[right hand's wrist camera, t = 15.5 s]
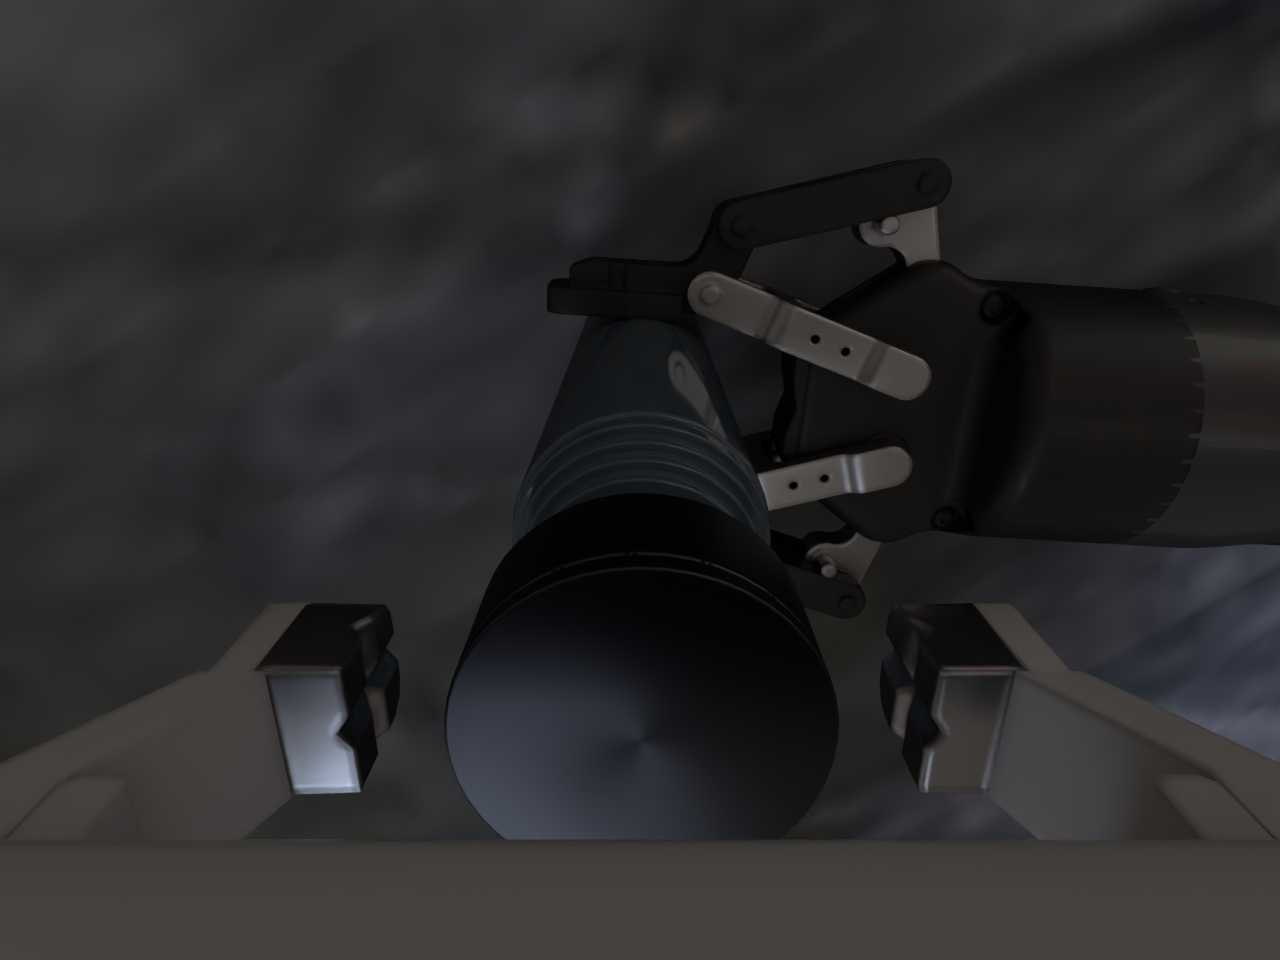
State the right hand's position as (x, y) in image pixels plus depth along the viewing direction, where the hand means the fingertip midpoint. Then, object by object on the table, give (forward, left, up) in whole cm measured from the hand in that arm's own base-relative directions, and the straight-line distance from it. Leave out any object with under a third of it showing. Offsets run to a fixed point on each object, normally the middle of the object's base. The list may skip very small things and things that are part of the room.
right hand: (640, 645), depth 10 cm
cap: (0, 0, +2) cm, 2 cm away
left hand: (-2, -2, -13) cm, 13 cm away
